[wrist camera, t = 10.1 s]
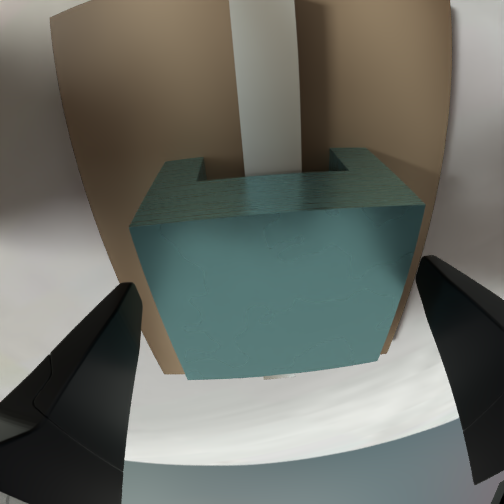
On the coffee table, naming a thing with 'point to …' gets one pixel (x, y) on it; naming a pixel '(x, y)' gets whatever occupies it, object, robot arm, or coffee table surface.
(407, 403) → the coffee table surface
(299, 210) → the block
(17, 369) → the coffee table surface
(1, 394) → the coffee table surface
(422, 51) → the rail plate
